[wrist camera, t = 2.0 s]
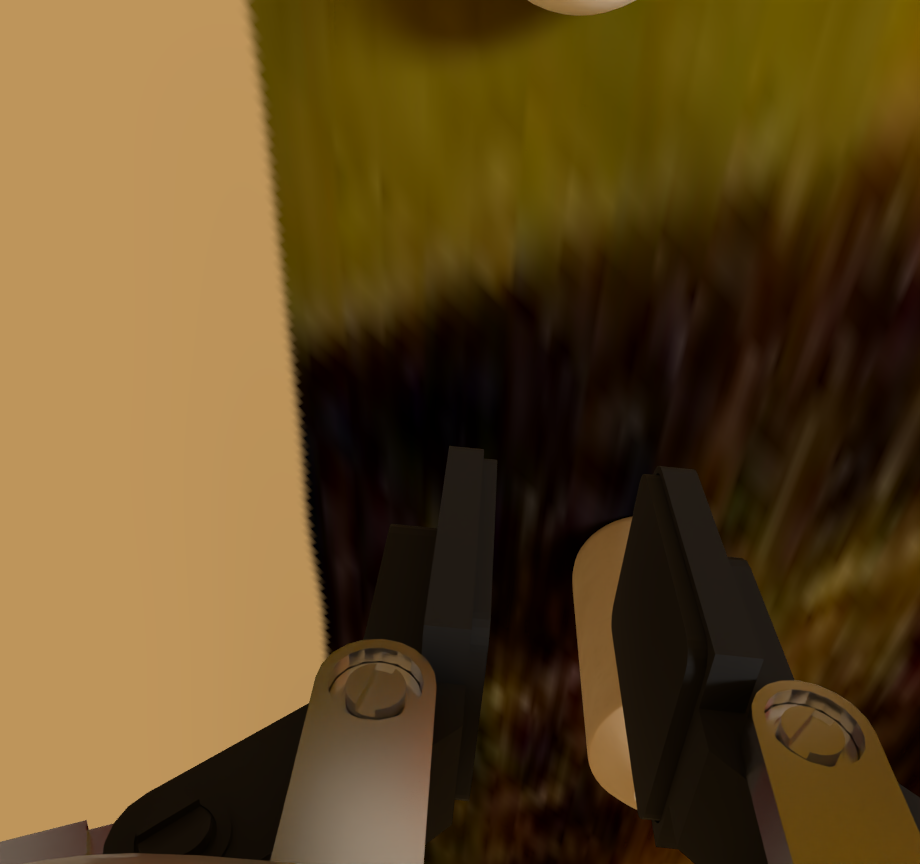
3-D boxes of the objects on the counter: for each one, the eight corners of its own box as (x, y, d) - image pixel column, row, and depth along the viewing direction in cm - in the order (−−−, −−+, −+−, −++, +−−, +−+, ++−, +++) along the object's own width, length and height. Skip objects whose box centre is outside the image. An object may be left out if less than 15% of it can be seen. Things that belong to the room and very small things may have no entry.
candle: (718, 508, 30) (801, 725, 21) (713, 622, 33) (785, 857, 24) (567, 516, 31) (588, 732, 22) (574, 628, 33) (595, 860, 25)
